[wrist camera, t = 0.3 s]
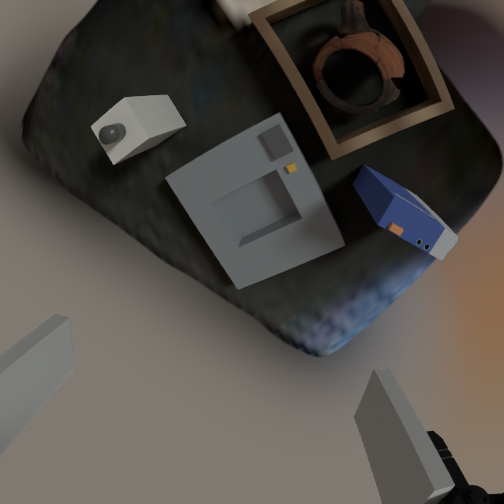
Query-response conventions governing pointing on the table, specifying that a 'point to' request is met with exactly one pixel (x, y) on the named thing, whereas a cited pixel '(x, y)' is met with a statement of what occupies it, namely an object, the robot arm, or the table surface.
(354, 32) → the pottery mug
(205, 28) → the table surface
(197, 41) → the table surface
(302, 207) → the socket plate
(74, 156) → the table surface
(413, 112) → the mug frame
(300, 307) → the table surface
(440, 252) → the walkman
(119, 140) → the plug
